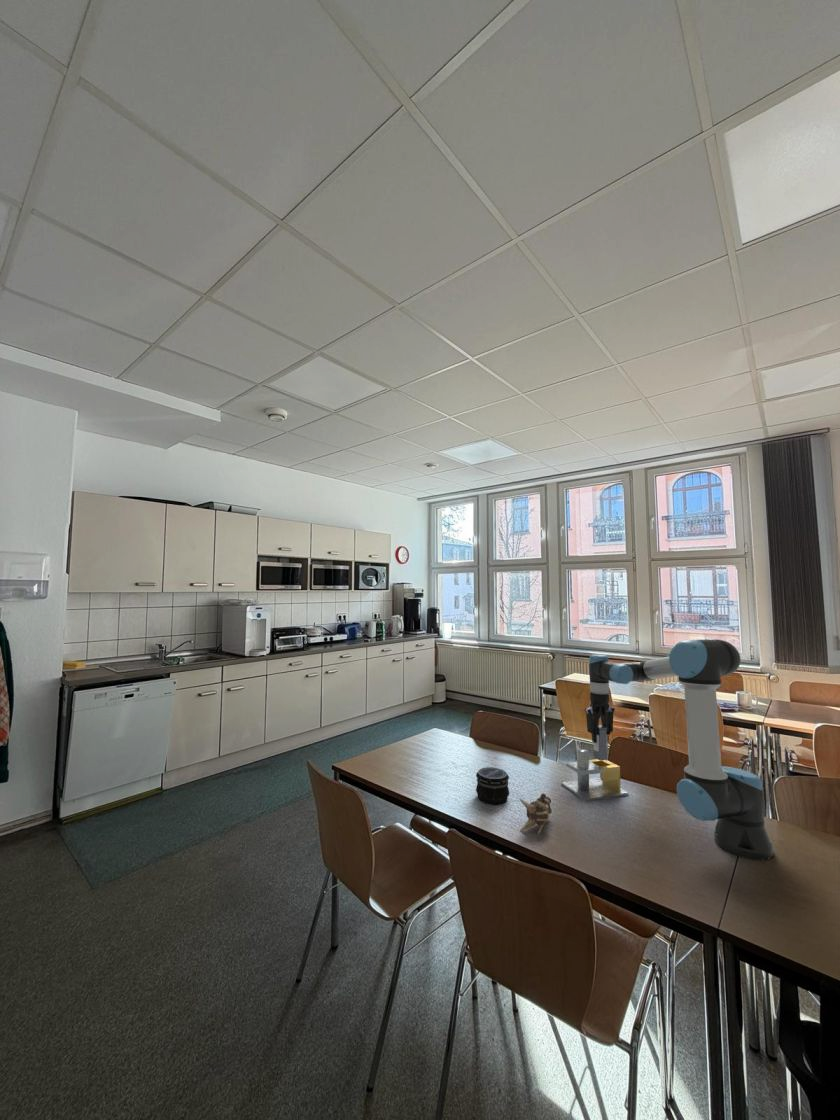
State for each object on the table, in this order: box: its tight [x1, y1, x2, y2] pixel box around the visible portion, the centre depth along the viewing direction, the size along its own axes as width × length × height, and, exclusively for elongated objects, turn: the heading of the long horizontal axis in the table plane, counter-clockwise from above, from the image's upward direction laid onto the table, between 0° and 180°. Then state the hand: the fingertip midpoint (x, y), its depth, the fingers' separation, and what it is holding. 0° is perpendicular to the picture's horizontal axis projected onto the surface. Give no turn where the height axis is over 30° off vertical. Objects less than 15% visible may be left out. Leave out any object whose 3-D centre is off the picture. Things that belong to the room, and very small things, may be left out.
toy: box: [518, 792, 553, 835], centre depth 153 cm, size 11×8×15 cm
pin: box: [593, 724, 608, 761], centre depth 186 cm, size 4×4×13 cm
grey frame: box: [560, 748, 629, 802], centre depth 184 cm, size 16×20×16 cm
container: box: [475, 766, 510, 806], centre depth 174 cm, size 13×13×10 cm
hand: (600, 749), depth 185 cm, fingers closed on pin, 3 cm apart
